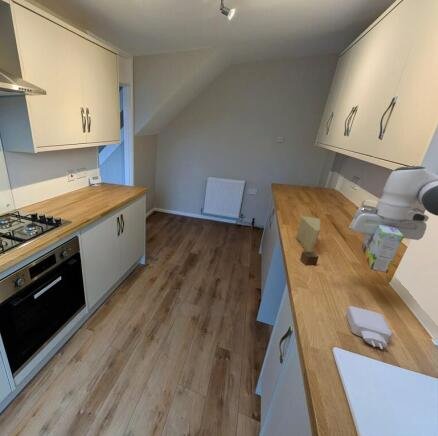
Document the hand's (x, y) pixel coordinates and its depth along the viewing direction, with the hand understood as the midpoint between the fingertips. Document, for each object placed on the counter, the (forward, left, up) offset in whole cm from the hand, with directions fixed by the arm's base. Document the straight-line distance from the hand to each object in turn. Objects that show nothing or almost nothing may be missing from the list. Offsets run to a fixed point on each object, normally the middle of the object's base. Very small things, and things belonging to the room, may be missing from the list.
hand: (378, 245), depth 91 cm
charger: (+7, +28, -21) cm, 36 cm away
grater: (-29, -82, -21) cm, 90 cm away
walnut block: (+15, -17, -21) cm, 31 cm away
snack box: (0, 0, -6) cm, 6 cm away
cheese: (+12, -37, -21) cm, 45 cm away
